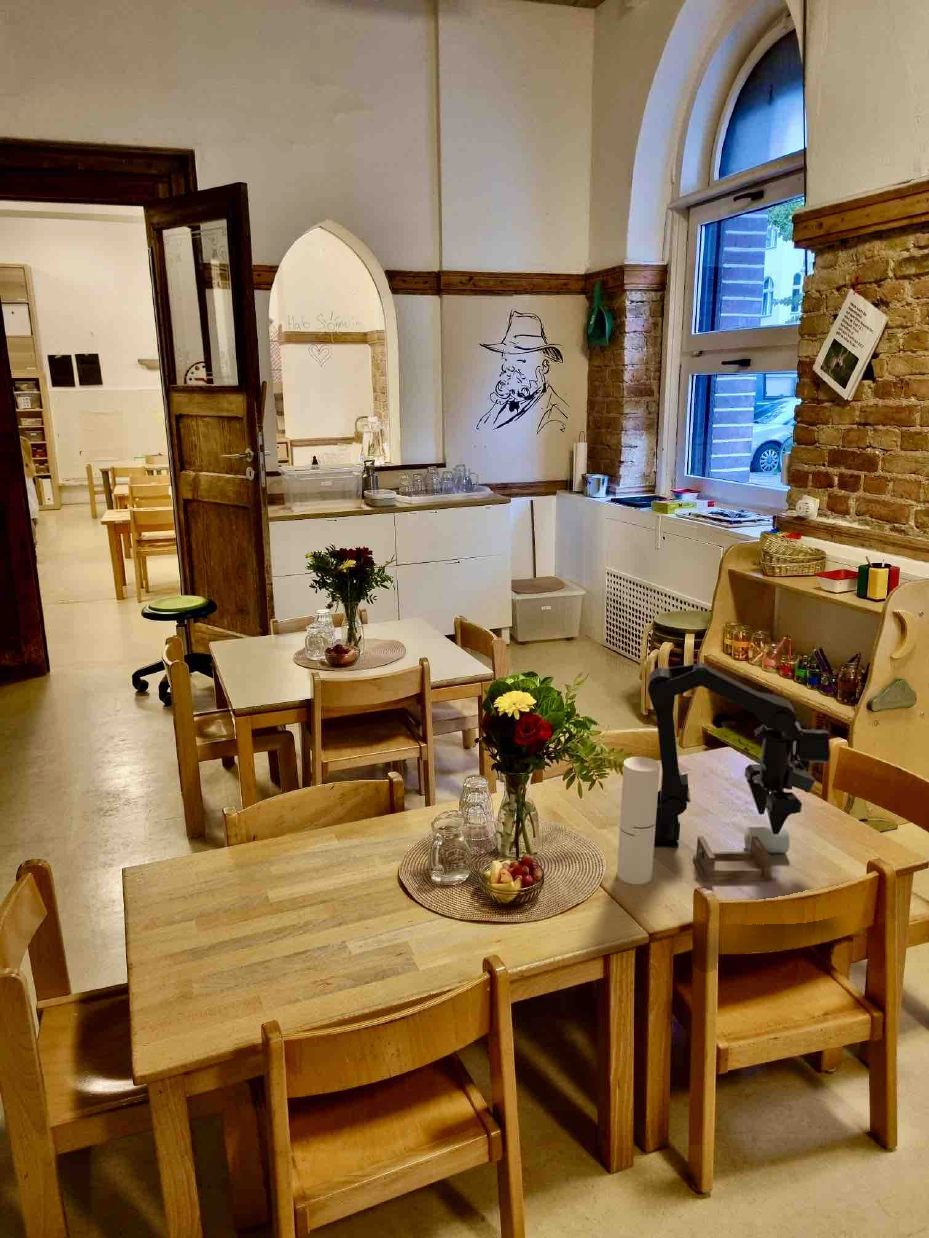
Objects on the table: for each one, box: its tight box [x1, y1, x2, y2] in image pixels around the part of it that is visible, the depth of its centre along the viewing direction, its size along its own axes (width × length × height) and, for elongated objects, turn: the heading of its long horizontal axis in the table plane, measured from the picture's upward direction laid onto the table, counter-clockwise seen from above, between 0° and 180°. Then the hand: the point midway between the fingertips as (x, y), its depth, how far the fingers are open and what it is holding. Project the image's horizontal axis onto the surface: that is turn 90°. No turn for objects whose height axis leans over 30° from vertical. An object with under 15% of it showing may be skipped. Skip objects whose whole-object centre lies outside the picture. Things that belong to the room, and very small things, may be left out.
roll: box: [743, 826, 790, 854], centre depth 201 cm, size 9×6×6 cm, turn 91°
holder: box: [692, 835, 773, 883], centre depth 192 cm, size 15×9×6 cm, turn 91°
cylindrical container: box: [616, 756, 661, 885], centre depth 187 cm, size 7×7×25 cm
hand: (768, 823), depth 199 cm, fingers open, 9 cm apart
